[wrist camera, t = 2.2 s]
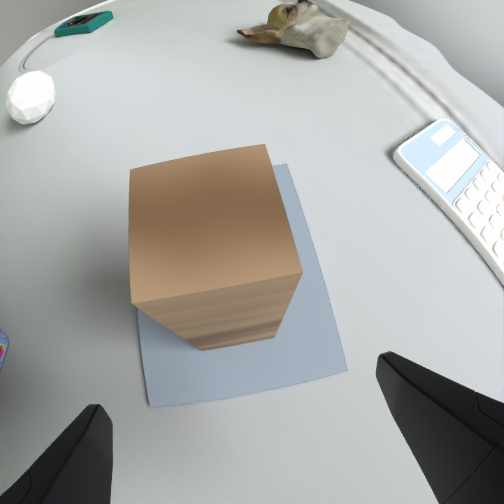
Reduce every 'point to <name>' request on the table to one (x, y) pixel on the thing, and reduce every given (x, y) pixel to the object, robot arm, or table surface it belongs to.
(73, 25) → the digital multimeter
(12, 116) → the geometric ball
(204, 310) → the walnut block
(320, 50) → the ceramic sculpture
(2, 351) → the ink cartridge box
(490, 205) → the calculator
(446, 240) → the table surface
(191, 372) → the desk pad
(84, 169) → the table surface
